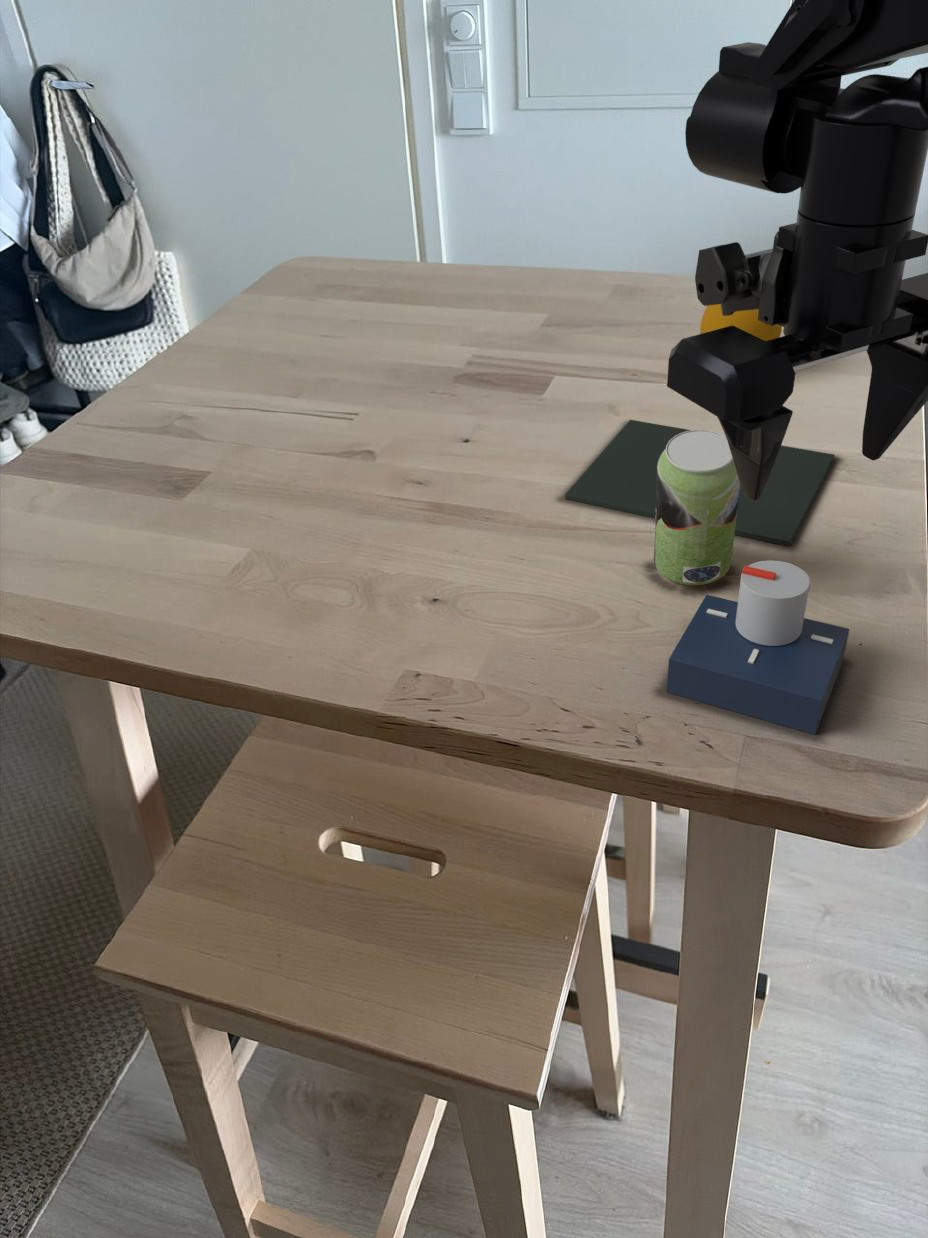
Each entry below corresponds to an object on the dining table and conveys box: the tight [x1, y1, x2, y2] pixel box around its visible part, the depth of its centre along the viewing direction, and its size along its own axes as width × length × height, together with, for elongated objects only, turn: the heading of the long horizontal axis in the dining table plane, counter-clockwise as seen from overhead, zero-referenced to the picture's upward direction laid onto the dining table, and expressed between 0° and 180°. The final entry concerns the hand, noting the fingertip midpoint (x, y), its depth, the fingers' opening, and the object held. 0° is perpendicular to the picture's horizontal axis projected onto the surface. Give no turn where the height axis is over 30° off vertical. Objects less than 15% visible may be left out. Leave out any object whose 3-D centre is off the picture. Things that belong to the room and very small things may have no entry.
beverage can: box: [653, 429, 740, 586], centre depth 75 cm, size 6×7×12 cm
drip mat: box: [564, 419, 835, 547], centre depth 91 cm, size 20×16×1 cm
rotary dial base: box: [666, 594, 850, 735], centre depth 69 cm, size 10×10×3 cm
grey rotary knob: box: [735, 560, 811, 646], centre depth 67 cm, size 4×4×4 cm
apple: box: [699, 304, 783, 341], centre depth 106 cm, size 8×8×9 cm
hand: (811, 477), depth 61 cm, fingers open, 9 cm apart
